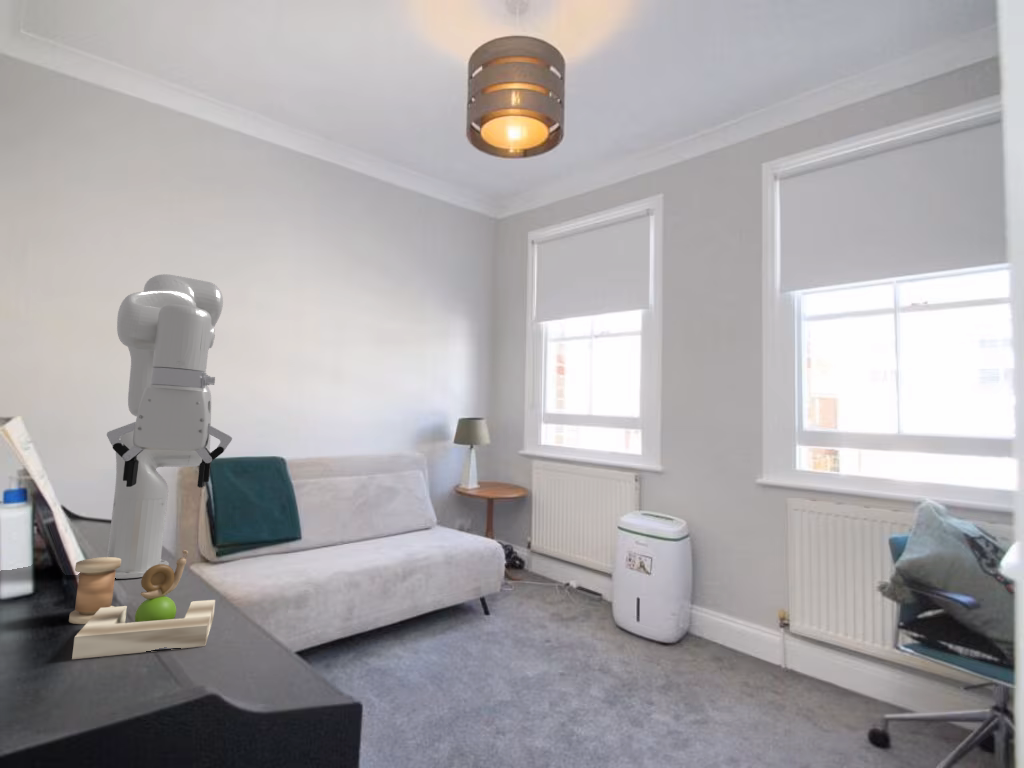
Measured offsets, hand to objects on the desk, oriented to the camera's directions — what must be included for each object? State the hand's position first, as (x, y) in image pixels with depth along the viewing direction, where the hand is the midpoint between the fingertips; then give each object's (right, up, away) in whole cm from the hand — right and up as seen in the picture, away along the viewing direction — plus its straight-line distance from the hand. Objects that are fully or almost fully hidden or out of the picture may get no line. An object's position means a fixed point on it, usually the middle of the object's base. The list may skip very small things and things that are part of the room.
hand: (166, 486), depth 86 cm
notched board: (0, -22, -4) cm, 23 cm away
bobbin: (-13, -22, +2) cm, 26 cm away
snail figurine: (0, -23, -2) cm, 23 cm away
